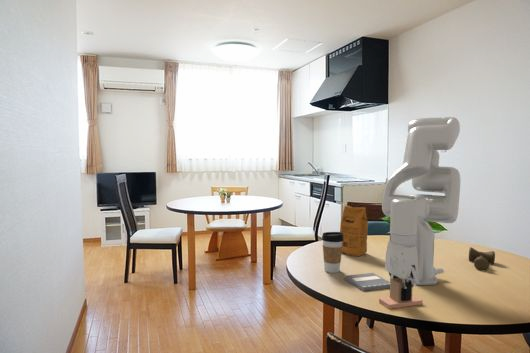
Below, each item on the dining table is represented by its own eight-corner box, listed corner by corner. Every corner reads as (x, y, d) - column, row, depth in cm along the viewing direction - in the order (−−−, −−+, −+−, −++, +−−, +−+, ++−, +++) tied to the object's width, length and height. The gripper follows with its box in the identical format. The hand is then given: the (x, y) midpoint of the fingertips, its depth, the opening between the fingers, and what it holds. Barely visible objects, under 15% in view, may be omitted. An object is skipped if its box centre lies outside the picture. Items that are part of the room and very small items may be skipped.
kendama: (467, 269, 144) (468, 256, 161) (495, 275, 139) (493, 260, 156) (468, 255, 143) (469, 243, 160) (496, 260, 138) (495, 247, 155)
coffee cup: (343, 274, 135) (343, 235, 134) (320, 272, 137) (321, 234, 136) (342, 267, 143) (343, 231, 142) (321, 266, 145) (322, 230, 144)
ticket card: (372, 275, 134) (373, 272, 134) (392, 287, 122) (393, 283, 122) (344, 278, 130) (344, 275, 130) (362, 291, 119) (362, 287, 119)
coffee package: (347, 248, 173) (348, 203, 172) (370, 253, 164) (371, 206, 162) (335, 252, 166) (336, 205, 165) (358, 257, 157) (359, 208, 156)
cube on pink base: (411, 297, 113) (412, 275, 113) (422, 304, 109) (423, 281, 108) (379, 301, 110) (379, 279, 109) (389, 308, 105) (389, 285, 105)
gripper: (376, 233, 115) (374, 288, 116) (411, 246, 99) (408, 310, 100) (395, 232, 117) (394, 286, 118) (433, 245, 101) (430, 307, 102)
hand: (400, 296), depth 109 cm, fingers closed on cube on pink base, 4 cm apart
